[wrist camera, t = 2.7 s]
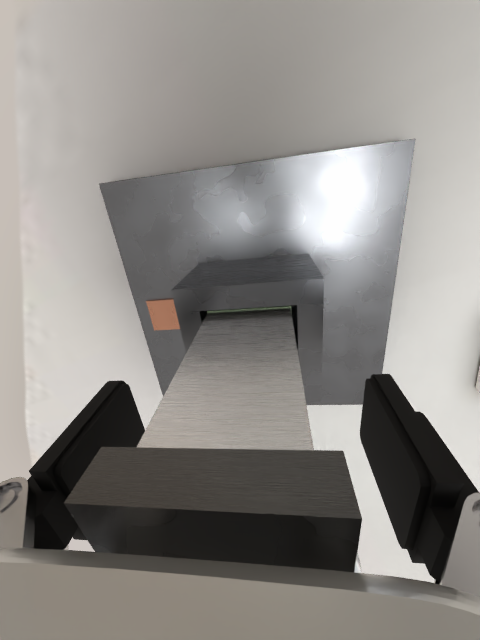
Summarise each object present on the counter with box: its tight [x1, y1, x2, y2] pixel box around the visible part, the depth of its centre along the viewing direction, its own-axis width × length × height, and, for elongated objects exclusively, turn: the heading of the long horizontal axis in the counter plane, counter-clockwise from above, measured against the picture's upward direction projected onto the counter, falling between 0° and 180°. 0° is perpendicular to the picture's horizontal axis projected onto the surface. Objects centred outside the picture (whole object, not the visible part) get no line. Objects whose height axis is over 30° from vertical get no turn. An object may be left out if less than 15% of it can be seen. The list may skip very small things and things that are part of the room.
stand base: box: [99, 139, 415, 405], centre depth 17 cm, size 18×18×7 cm
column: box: [64, 305, 362, 572], centre depth 12 cm, size 5×5×14 cm
